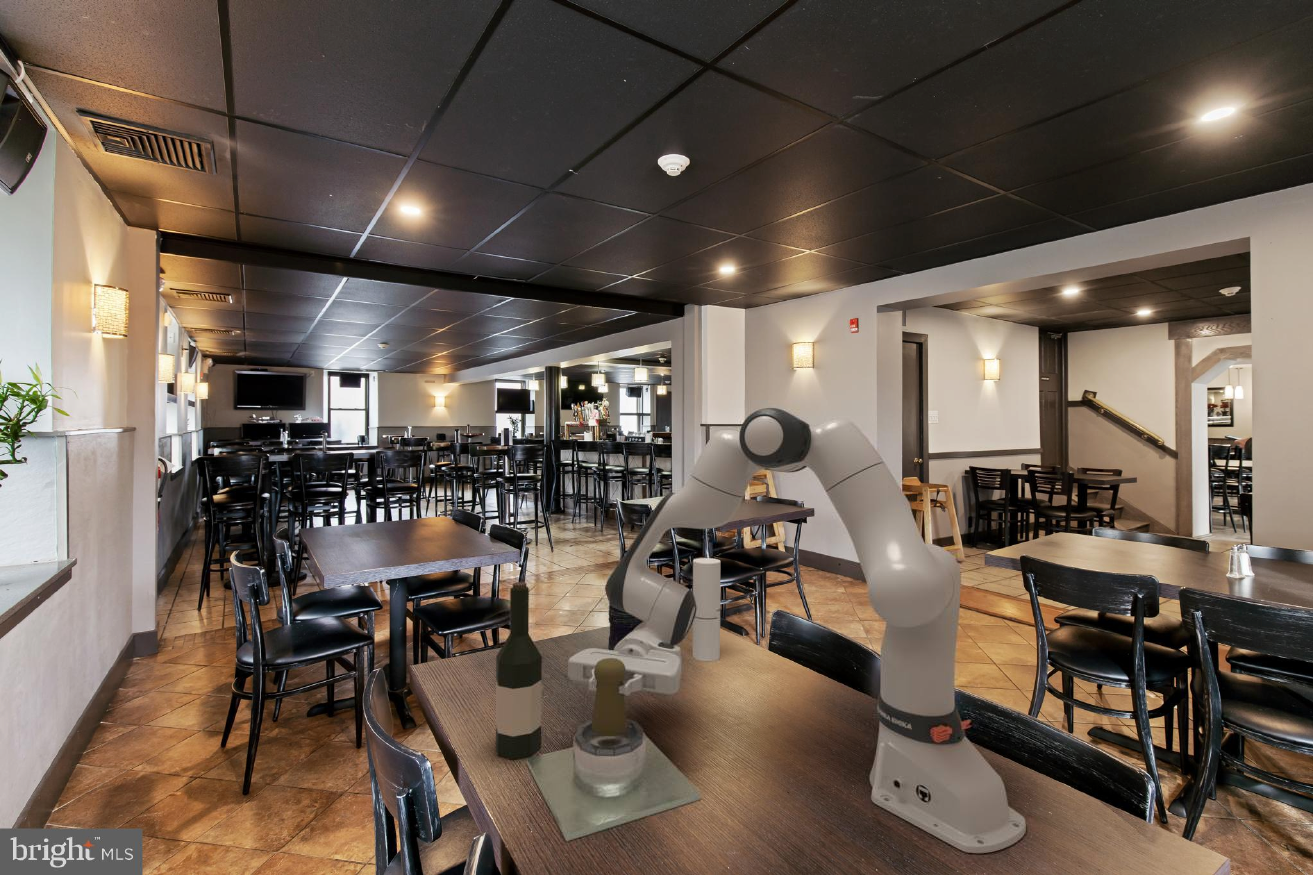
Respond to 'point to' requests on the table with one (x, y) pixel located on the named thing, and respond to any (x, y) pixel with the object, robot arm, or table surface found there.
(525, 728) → the wine bottle
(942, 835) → the robot arm
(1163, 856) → the table surface
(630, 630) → the storage jar
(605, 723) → the cork
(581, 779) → the duct stub
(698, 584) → the cylindrical container
